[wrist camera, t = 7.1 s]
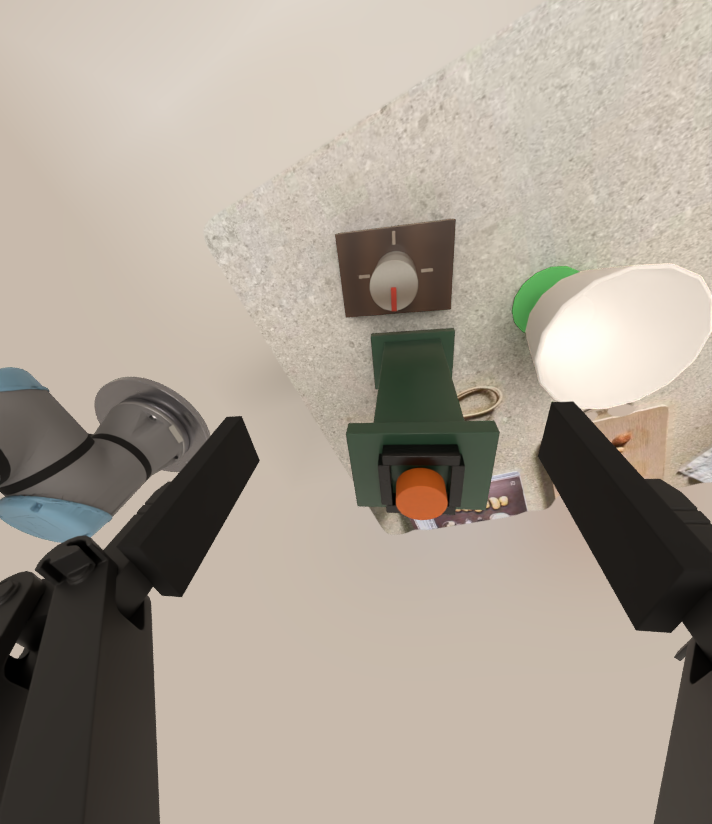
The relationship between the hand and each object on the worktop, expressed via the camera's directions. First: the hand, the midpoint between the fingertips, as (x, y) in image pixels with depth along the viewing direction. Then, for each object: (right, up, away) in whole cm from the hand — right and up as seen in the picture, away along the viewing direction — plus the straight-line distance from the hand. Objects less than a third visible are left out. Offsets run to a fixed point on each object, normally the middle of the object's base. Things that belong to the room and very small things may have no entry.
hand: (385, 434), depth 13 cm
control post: (+7, +9, +34) cm, 36 cm away
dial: (+4, +18, +25) cm, 31 cm away
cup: (+24, +16, +27) cm, 40 cm away
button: (+4, -5, +12) cm, 14 cm away
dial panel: (+4, +20, +27) cm, 34 cm away
